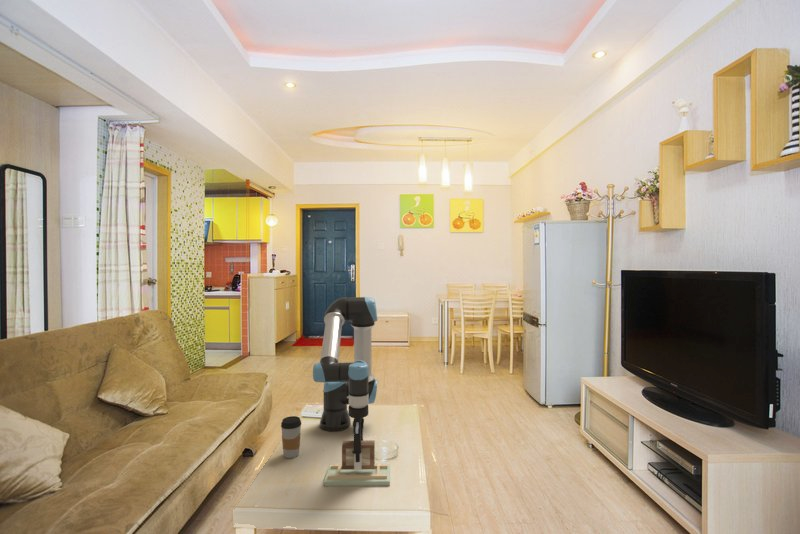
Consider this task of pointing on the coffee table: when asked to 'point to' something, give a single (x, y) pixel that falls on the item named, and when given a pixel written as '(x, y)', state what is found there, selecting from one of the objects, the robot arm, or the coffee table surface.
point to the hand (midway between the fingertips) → (358, 465)
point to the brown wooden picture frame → (367, 454)
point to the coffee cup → (291, 436)
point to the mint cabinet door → (357, 476)
